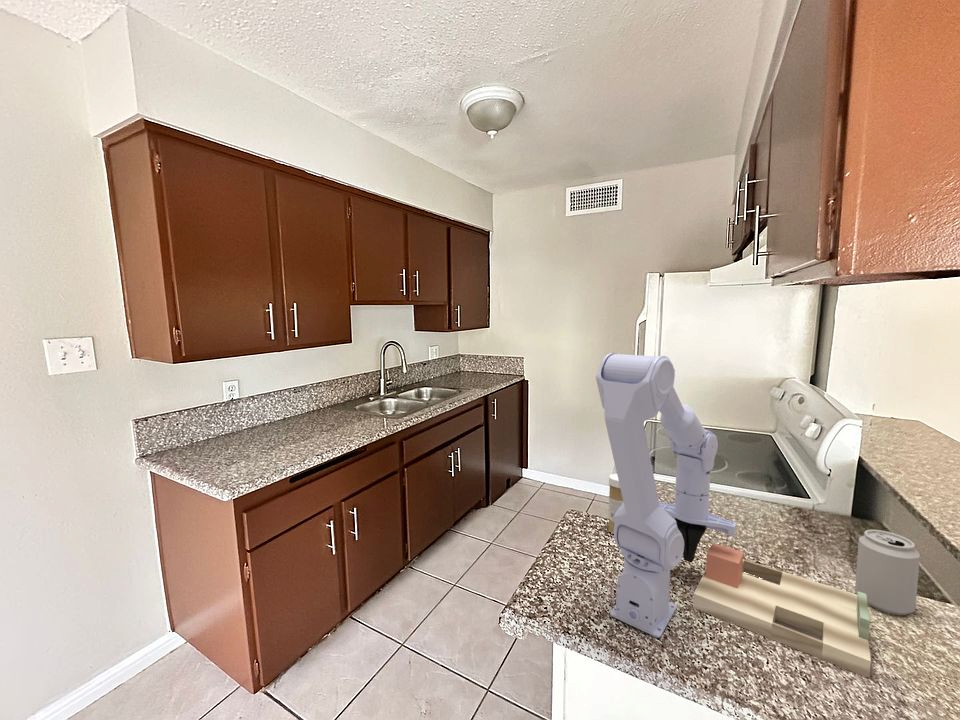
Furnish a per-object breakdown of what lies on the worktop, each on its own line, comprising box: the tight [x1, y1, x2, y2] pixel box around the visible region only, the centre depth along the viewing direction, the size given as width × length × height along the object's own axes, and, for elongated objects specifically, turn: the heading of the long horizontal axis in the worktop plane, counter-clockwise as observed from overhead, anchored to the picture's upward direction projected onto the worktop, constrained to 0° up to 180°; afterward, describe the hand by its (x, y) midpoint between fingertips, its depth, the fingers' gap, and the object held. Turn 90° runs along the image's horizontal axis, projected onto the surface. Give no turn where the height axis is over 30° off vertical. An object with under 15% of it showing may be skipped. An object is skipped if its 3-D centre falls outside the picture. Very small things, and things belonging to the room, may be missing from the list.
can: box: [854, 529, 921, 616], centre depth 71 cm, size 8×8×12 cm
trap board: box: [692, 558, 872, 679], centre depth 70 cm, size 18×22×6 cm
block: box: [705, 542, 745, 589], centre depth 75 cm, size 5×5×4 cm
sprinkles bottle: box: [607, 473, 624, 535], centre depth 96 cm, size 5×5×13 cm
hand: (689, 559), depth 79 cm, fingers closed
